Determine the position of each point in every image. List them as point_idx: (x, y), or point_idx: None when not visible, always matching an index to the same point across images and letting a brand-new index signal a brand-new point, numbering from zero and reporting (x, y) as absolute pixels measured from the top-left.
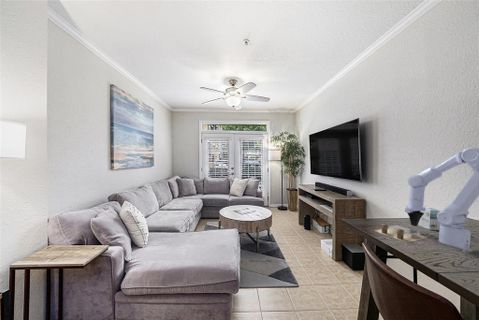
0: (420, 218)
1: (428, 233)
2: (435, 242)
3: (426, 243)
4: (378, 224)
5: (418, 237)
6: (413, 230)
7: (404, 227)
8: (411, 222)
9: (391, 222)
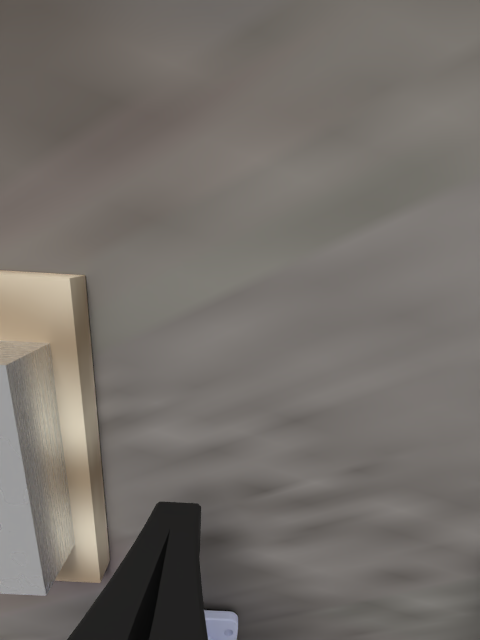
0: None
1: (353, 500)
2: None
3: None
4: (71, 34)
5: None
6: (24, 550)
7: (21, 459)
8: (137, 551)
9: (447, 59)
